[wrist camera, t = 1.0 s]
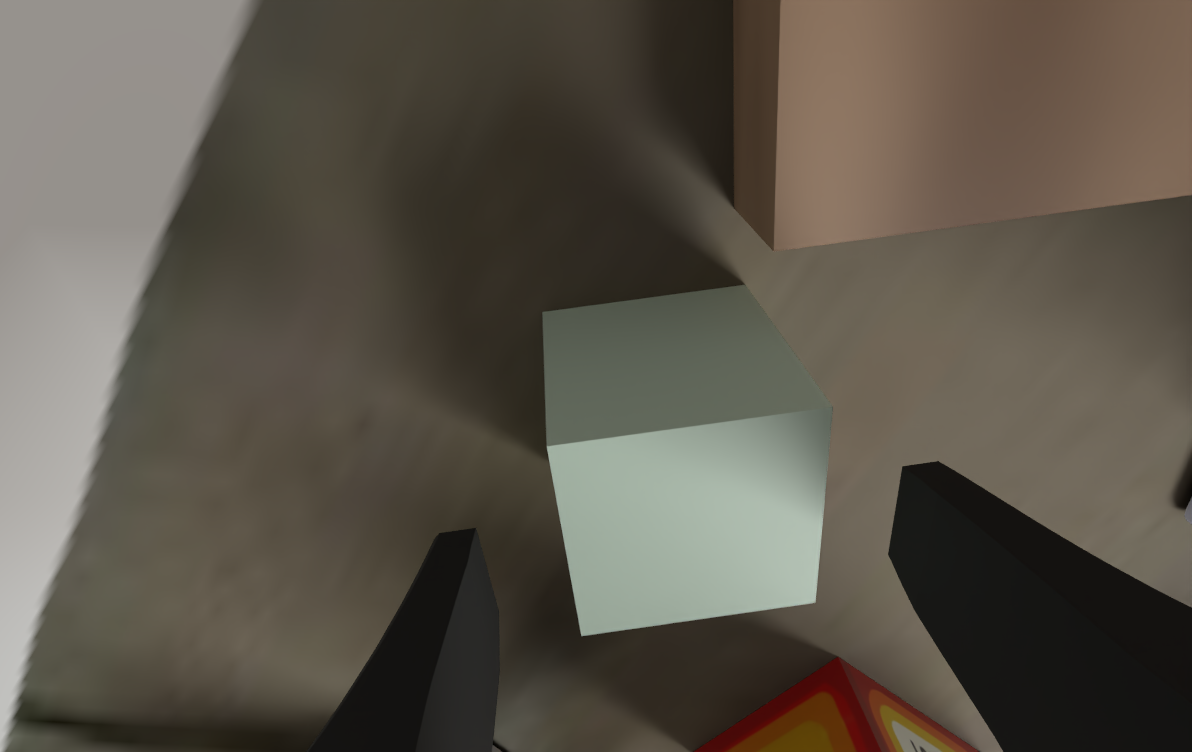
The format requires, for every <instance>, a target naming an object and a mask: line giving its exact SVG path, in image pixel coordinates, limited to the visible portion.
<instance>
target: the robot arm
mask: <svg viewBox="0 0 1192 752" xmlns="http://www.w3.org/2000/svg"><path fill="white" fill-rule="evenodd" d="M1185 518H1186V520H1187V521H1188V522H1189V523H1191V524H1192V497H1191V500H1190V502H1189V504H1188V506H1187V508H1186V511H1185ZM888 555H889V557H890V559H891V561H892V564H893V566H894V568H895V570H896V572H897V575H898V577H899V579H900V581H901V583H902V586H903V588H904V590H905V592H906V594H907V596H908V598H909V600H910V602H911V604H912V606H913V608H914V610H915V612H916V613H917V615H918V617H919V618H920V620H921V621H922V623H923V625H924V626H925V628H926V629H927V631H928V633H929V634H930V636H931V637H932V639H933V641H934V642H935V644H936V645H937V647H938V649H939V650H940V652H941V653H942V655H943V657H944V658H945V660H946V661H947V663H948V664H949V666H950V667H951V669H952V671H953V672H954V674H955V675H956V677H957V678H958V680H959V682H960V683H961V685H962V686H963V688H964V689H965V691H966V693H967V694H968V696H969V697H970V699H971V700H972V702H973V703H974V705H975V707H976V708H977V710H978V711H979V713H980V714H981V716H982V718H983V719H984V721H985V722H986V724H987V725H988V727H989V729H990V730H991V732H992V733H993V735H994V736H995V738H996V740H997V741H998V743H999V745H1000V747H1001V748H1002V750H1003V752H1192V608H1191V607H1189V606H1187V605H1185V604H1183V603H1181V602H1179V601H1177V600H1175V599H1173V598H1171V597H1169V596H1167V595H1165V594H1163V593H1161V592H1159V591H1158V590H1156V589H1154V588H1152V587H1150V586H1148V585H1146V584H1144V583H1143V582H1141V581H1139V580H1137V579H1135V578H1133V577H1132V576H1130V575H1128V574H1126V573H1124V572H1123V571H1121V570H1119V569H1117V568H1115V567H1113V566H1112V565H1110V564H1108V563H1106V562H1104V561H1102V560H1101V559H1099V558H1097V557H1096V556H1094V555H1092V554H1090V553H1089V552H1087V551H1085V550H1083V549H1082V548H1080V547H1078V546H1076V545H1075V544H1073V543H1071V542H1070V541H1068V540H1066V539H1065V538H1063V537H1061V536H1060V535H1058V534H1056V533H1055V532H1053V531H1051V530H1050V529H1048V528H1046V527H1045V526H1043V525H1041V524H1040V523H1038V522H1036V521H1035V520H1033V519H1032V518H1030V517H1028V516H1027V515H1025V514H1023V513H1022V512H1020V511H1019V510H1017V509H1015V508H1014V507H1012V506H1011V505H1009V504H1007V503H1006V502H1004V501H1003V500H1001V499H999V498H998V497H996V496H995V495H993V494H991V493H990V492H988V491H987V490H985V489H983V488H982V487H980V486H979V485H977V484H975V483H974V482H972V481H971V480H969V479H967V478H966V477H964V476H962V475H961V474H959V473H957V472H956V471H954V470H952V469H951V468H949V467H947V466H946V465H944V464H942V463H940V462H939V461H937V462H930V463H923V464H916V465H909V466H903V467H902V473H901V479H900V485H899V491H898V497H897V504H896V510H895V516H894V522H893V528H892V534H891V540H890V547H889V553H888ZM499 672H500V660H499V610H498V607H497V603H496V599H495V596H494V592H493V588H492V585H491V581H490V577H489V574H488V570H487V566H486V563H485V559H484V555H483V552H482V548H481V544H480V541H479V537H478V533H477V530H476V528H472V529H465V530H458V531H452V532H445V533H439V535H438V536H437V537H436V538H435V539H434V541H433V543H432V545H431V547H430V549H429V552H428V554H427V556H426V558H425V560H424V562H423V564H422V566H421V568H420V570H419V572H418V574H417V575H416V577H415V579H414V581H413V583H412V585H411V587H410V589H409V591H408V592H407V594H406V596H405V598H404V600H403V602H402V604H401V605H400V607H399V609H398V611H397V612H396V614H395V616H394V618H393V619H392V621H391V623H390V625H389V626H388V628H387V630H386V632H385V633H384V635H383V637H382V638H381V640H380V642H379V644H378V645H377V647H376V649H375V650H374V652H373V654H372V655H371V657H370V658H369V660H368V662H367V663H366V665H365V666H364V668H363V669H362V671H361V672H360V674H359V676H358V677H357V679H356V680H355V682H354V683H353V685H352V686H351V688H350V690H349V691H348V693H347V694H346V696H345V697H344V699H343V700H342V702H341V703H340V705H339V706H338V708H337V709H336V711H335V712H334V714H333V715H332V716H331V718H330V719H329V721H328V722H327V724H326V725H325V726H324V728H323V729H322V731H321V732H320V733H319V735H318V736H317V738H316V739H315V740H314V742H313V743H312V744H311V746H310V747H309V748H308V750H307V751H306V752H492V746H493V736H494V726H495V716H496V705H497V694H498V684H499Z"/></svg>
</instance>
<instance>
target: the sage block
mask: <svg viewBox="0 0 1192 752" xmlns="http://www.w3.org/2000/svg"><path fill="white" fill-rule="evenodd" d="M542 316H543V347H544V378H545V409H546V440H547V451H548V456H549V462H550V467H551V473H552V478H553V484H554V489H555V495H556V500H557V506H558V511H559V516H560V522H561V527H562V533H563V538H564V544H565V549H566V555H567V560H568V566H569V571H570V577H571V582H572V588H573V593H574V598H575V604H576V609H577V615H578V620H579V626H580V631H581V636H586V635H593V634H600V633H607V632H614V631H621V630H628V629H635V628H642V627H649V626H656V625H663V624H670V623H677V622H684V621H691V620H698V619H705V618H712V617H719V616H726V615H733V614H740V613H747V612H754V611H761V610H768V609H775V608H782V607H789V606H796V605H803V604H810V603H815V602H816V591H817V579H818V568H819V557H820V546H821V535H822V523H823V512H824V501H825V490H826V479H827V467H828V456H829V445H830V434H831V423H832V411H833V406H832V405H831V404H830V402H829V401H828V399H827V398H826V397H825V395H824V394H823V392H822V391H821V390H820V388H819V387H818V385H817V384H816V383H815V381H814V380H813V378H812V377H811V376H810V374H809V373H808V371H807V370H806V369H805V367H804V366H803V364H802V363H801V362H800V360H799V359H798V358H797V356H796V355H795V353H794V352H793V351H792V349H791V348H790V346H789V345H788V344H787V342H786V341H785V339H784V338H783V337H782V335H781V334H780V332H779V331H778V330H777V328H776V327H775V325H774V324H773V323H772V321H771V320H770V318H769V317H768V316H767V314H766V313H765V311H764V310H763V309H762V307H761V306H760V304H759V303H758V302H757V300H756V299H755V297H754V296H753V295H752V293H751V292H750V291H749V289H748V288H747V286H746V285H739V286H732V287H724V288H717V289H710V290H702V291H695V292H687V293H680V294H673V295H665V296H658V297H650V298H643V299H635V300H628V301H621V302H613V303H606V304H598V305H591V306H584V307H576V308H569V309H561V310H554V311H547V312H542Z"/></svg>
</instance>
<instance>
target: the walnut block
mask: <svg viewBox="0 0 1192 752" xmlns="http://www.w3.org/2000/svg"><path fill="white" fill-rule="evenodd" d="M733 61H734V209H735V210H736V211H737V212H738V213H739V214H740V215H741V216H742V217H743V219H744V220H745V221H746V222H747V223H748V224H749V225H750V226H751V227H752V228H753V229H754V231H755V232H756V233H757V234H758V235H759V236H760V237H761V238H762V239H763V240H764V241H765V243H766V244H767V245H768V246H769V247H770V248H771V249H772V250H773V251H782V250H789V249H796V248H804V247H811V246H819V245H826V244H833V243H841V242H848V241H855V240H863V239H870V238H878V237H885V236H892V235H900V234H907V233H914V232H922V231H929V230H937V229H944V228H951V227H959V226H966V225H974V224H981V223H988V222H996V221H1003V220H1010V219H1018V218H1025V217H1033V216H1040V215H1047V214H1055V213H1062V212H1069V211H1077V210H1084V209H1092V208H1099V207H1106V206H1114V205H1121V204H1129V203H1136V202H1143V201H1151V200H1158V199H1165V198H1173V197H1180V196H1188V195H1192V0H733Z"/></svg>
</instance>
